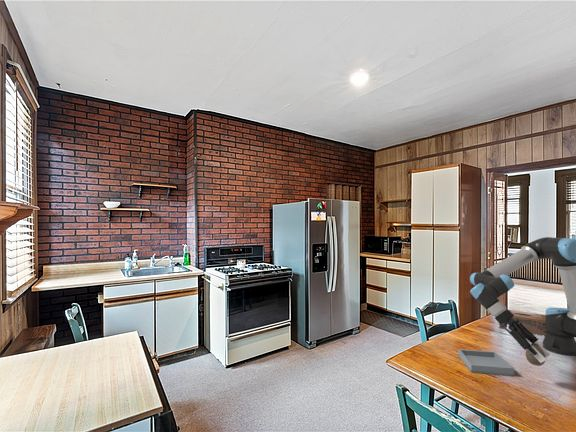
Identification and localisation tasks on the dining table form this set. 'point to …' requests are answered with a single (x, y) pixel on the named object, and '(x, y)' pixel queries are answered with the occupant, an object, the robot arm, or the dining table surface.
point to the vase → (531, 357)
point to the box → (485, 362)
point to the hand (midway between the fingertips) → (545, 358)
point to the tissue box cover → (529, 322)
